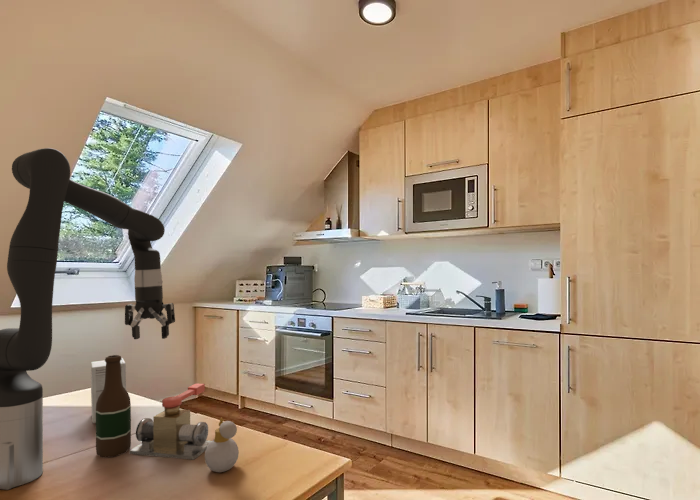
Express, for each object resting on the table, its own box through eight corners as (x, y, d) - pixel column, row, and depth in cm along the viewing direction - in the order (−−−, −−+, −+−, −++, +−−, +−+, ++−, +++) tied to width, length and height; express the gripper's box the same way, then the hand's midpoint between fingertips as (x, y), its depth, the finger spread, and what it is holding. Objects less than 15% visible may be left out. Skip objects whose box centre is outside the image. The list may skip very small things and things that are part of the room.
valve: (194, 459, 104) (193, 413, 105) (129, 453, 108) (129, 409, 108) (213, 444, 113) (213, 401, 113) (153, 439, 117) (152, 398, 117)
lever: (174, 409, 108) (174, 401, 108) (158, 408, 109) (158, 400, 109) (207, 391, 123) (207, 383, 123) (193, 390, 124) (193, 383, 124)
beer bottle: (137, 446, 112) (137, 353, 113) (114, 459, 105) (113, 360, 106) (113, 443, 115) (112, 352, 115) (88, 456, 107) (88, 358, 108)
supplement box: (124, 408, 142) (124, 357, 143) (127, 417, 134) (127, 362, 135) (90, 414, 137) (90, 361, 138) (91, 423, 129) (91, 367, 130)
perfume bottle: (222, 459, 104) (222, 408, 105) (253, 468, 99) (252, 415, 100) (197, 472, 98) (196, 418, 98) (228, 483, 93) (227, 426, 93)
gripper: (118, 286, 126) (120, 342, 127) (165, 285, 126) (168, 340, 126) (132, 284, 134) (134, 336, 134) (177, 282, 133) (179, 335, 133)
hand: (150, 338), depth 130 cm, fingers open, 8 cm apart
